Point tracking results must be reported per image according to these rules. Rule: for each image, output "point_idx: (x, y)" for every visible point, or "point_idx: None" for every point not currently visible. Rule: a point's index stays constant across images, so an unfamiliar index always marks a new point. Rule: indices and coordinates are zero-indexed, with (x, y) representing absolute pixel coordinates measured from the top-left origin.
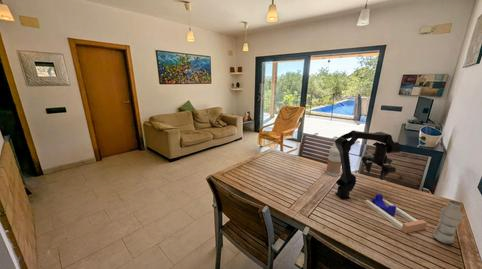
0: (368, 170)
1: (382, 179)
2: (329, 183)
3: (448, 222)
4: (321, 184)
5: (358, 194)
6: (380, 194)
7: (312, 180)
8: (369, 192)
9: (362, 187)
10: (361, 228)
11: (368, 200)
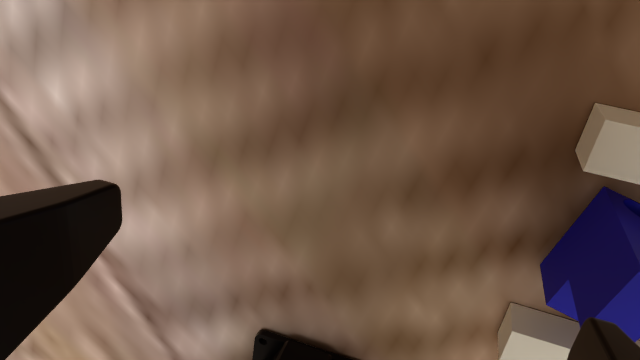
0: (55, 278)
1: (622, 347)
2: (81, 279)
3: None
4: (88, 348)
5: (344, 228)
6: (638, 284)
7: (18, 350)
8: (371, 50)
9: (235, 11)
10: None
11: (524, 342)
